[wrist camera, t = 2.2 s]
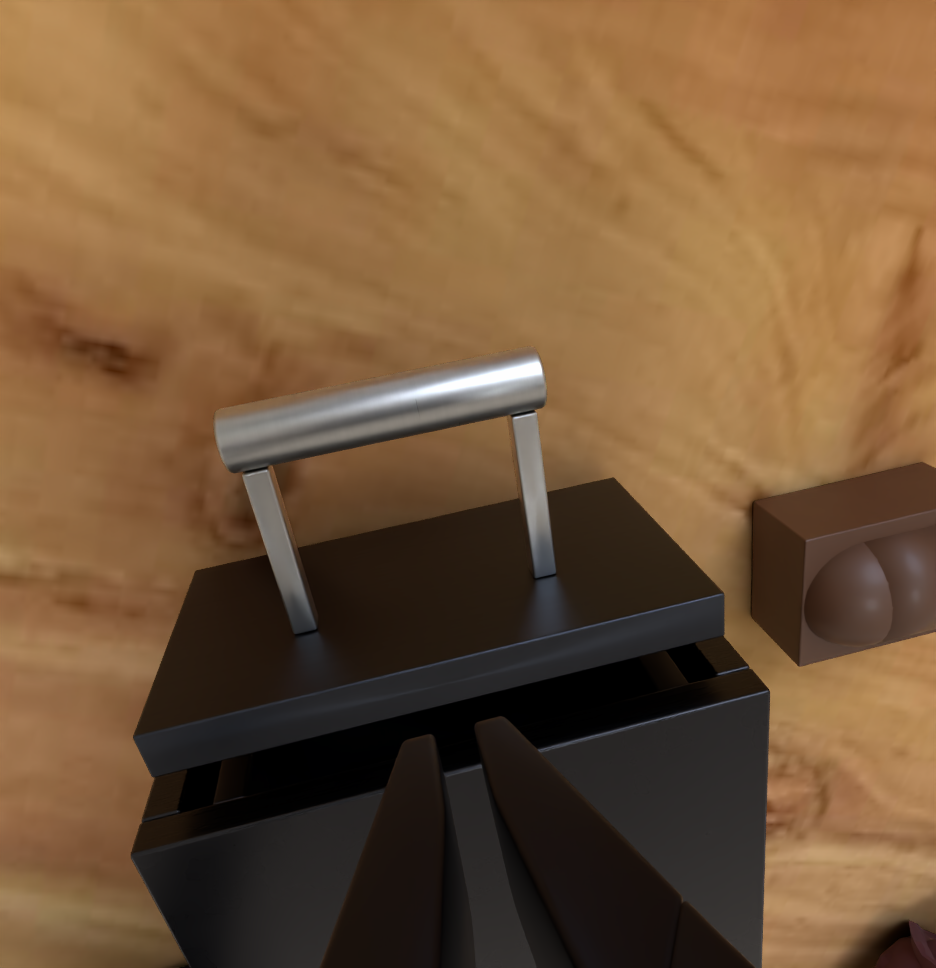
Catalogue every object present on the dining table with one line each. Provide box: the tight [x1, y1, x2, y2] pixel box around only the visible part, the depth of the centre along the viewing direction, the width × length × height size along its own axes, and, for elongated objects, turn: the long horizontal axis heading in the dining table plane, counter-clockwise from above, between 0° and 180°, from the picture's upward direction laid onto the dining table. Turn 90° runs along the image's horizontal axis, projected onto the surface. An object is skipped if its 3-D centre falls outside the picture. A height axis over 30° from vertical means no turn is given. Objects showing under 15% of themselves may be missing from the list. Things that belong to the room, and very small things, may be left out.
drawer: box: [133, 346, 724, 805], centre depth 19 cm, size 18×13×7 cm
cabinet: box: [131, 636, 770, 968], centre depth 22 cm, size 14×14×9 cm
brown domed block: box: [752, 462, 936, 666], centre depth 23 cm, size 6×5×4 cm
